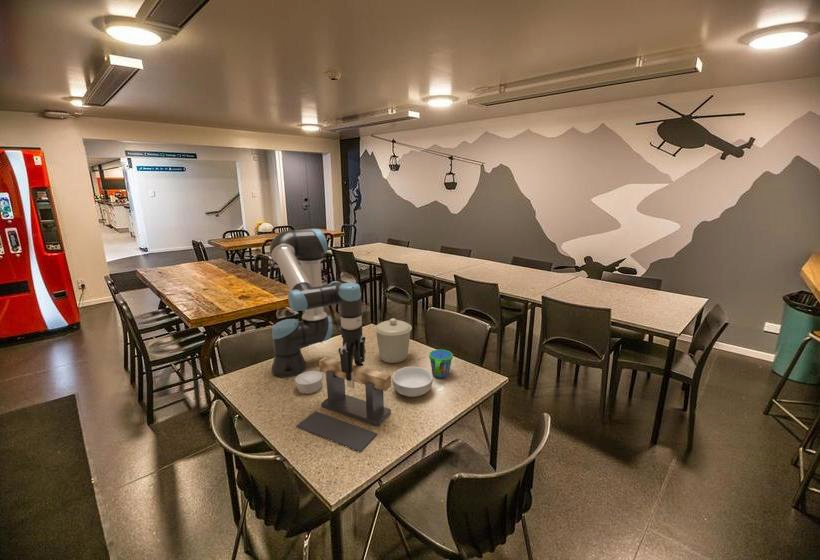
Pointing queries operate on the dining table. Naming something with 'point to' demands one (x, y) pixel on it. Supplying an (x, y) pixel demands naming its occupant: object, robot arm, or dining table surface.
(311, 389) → the ramekin
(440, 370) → the snack cup
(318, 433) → the black rubber mat
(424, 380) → the cereal bowl
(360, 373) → the maple rail
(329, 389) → the stand
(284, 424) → the dining table surface
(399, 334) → the canister
